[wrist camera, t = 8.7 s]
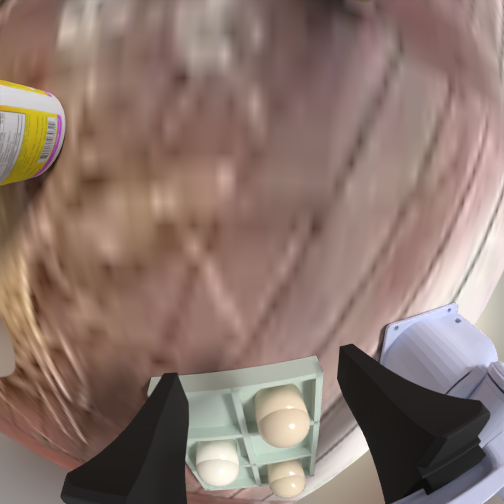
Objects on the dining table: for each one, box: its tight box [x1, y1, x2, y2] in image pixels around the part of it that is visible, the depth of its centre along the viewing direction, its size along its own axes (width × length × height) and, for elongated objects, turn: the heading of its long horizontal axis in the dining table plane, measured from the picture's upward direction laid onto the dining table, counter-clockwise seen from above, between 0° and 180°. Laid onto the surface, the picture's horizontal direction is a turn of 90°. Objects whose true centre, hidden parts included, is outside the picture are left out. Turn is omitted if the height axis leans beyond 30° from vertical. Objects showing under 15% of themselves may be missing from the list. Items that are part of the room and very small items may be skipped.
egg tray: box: [147, 355, 323, 491], centre depth 25 cm, size 15×22×2 cm
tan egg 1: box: [253, 383, 310, 448], centre depth 21 cm, size 4×4×5 cm
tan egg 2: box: [266, 458, 306, 498], centre depth 26 cm, size 4×4×5 cm
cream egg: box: [196, 439, 239, 487], centre depth 23 cm, size 4×4×5 cm
